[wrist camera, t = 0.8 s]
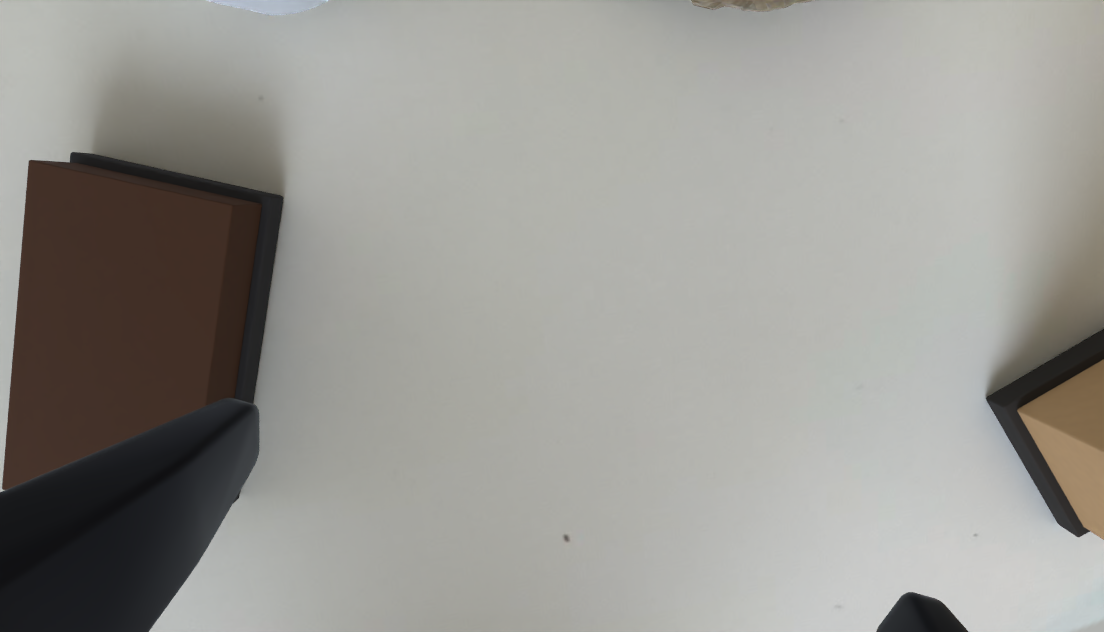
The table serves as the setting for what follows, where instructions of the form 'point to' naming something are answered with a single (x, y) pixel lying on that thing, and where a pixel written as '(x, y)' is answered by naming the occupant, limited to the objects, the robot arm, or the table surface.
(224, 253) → the brown slab
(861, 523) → the table surface
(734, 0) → the seashell
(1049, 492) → the tan block on base
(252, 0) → the teacup
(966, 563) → the table surface
